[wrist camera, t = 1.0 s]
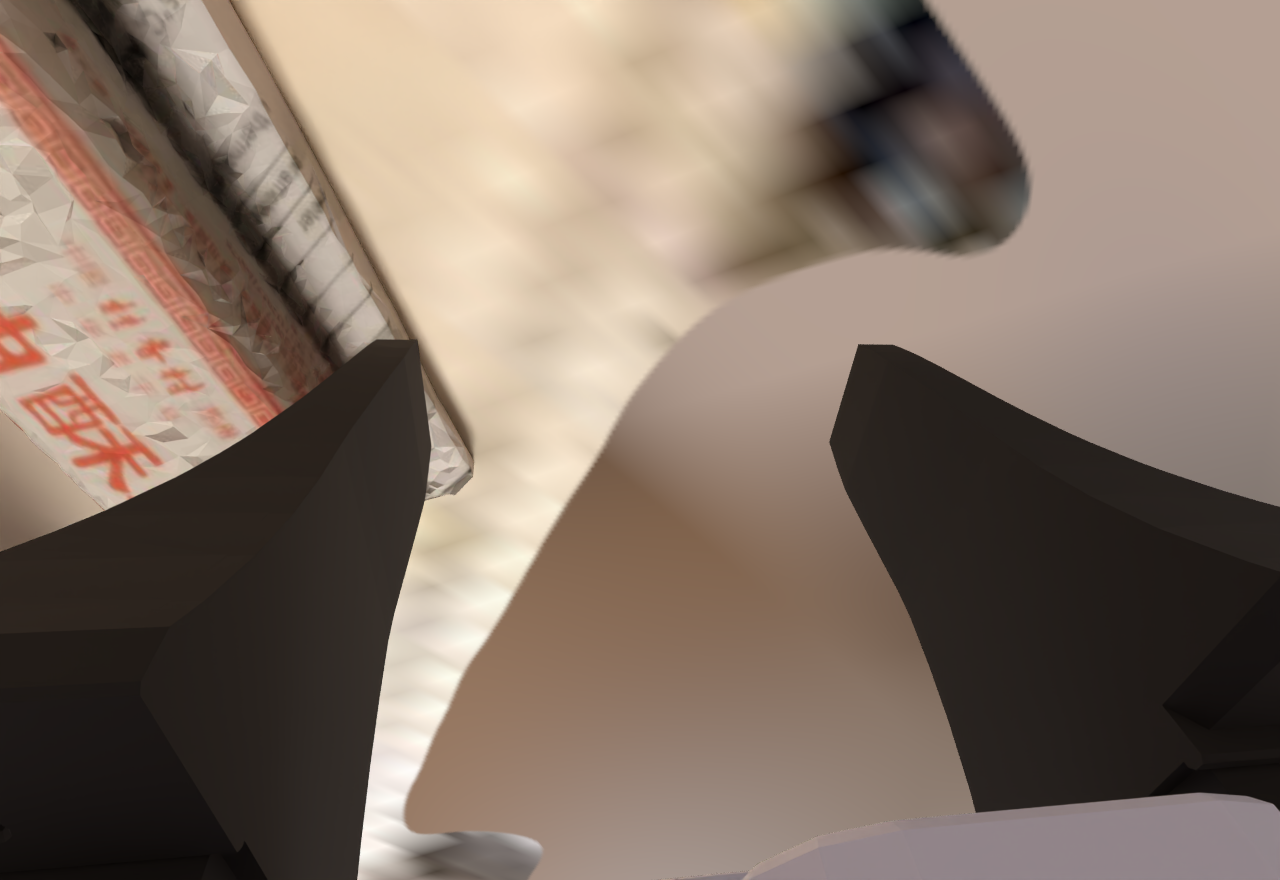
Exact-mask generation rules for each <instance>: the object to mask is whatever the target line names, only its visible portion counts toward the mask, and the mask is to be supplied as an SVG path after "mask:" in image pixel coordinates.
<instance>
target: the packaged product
mask: <svg viewBox="0 0 1280 880" xmlns="http://www.w3.org/2000/svg"><path fill="white" fill-rule="evenodd" d="M376 339H394V340H410V339H409V337H408V335H407V333H406V331H405V329H404V327H403V324H402V322H401V320H400V318H399V316H398V314H397V312H396V310H395V308H394V306H393V304H392V302H391V300H390V299H389V297H388V296H387V294H386V292H385V290H384V288H383V286H382V284H381V282H380V281H379V279H378V277H377V275H376V273H375V271H374V269H373V267H372V265H371V263H370V261H369V259H368V257H367V256H366V254H365V252H364V250H363V248H362V246H361V244H360V242H359V240H358V238H357V236H356V234H355V233H354V231H353V229H352V227H351V225H350V223H349V221H348V219H347V217H346V215H345V213H344V211H343V209H342V207H341V205H340V203H339V201H338V199H337V197H336V195H335V193H334V191H333V189H332V187H331V185H330V184H329V182H328V180H327V178H326V176H325V174H324V172H323V170H322V169H321V167H320V165H319V163H318V161H317V159H316V157H315V156H314V154H313V152H312V150H311V148H310V146H309V144H308V143H307V141H306V139H305V137H304V135H303V133H302V131H301V129H300V128H299V126H298V124H297V122H296V120H295V118H294V116H293V115H292V113H291V111H290V109H289V108H288V106H287V104H286V102H285V101H284V99H283V97H282V95H281V93H280V91H279V89H278V87H277V85H276V83H275V82H274V80H273V78H272V76H271V74H270V72H269V70H268V68H267V66H266V65H265V63H264V61H263V59H262V58H261V56H260V54H259V52H258V51H257V49H256V47H255V45H254V44H253V42H252V40H251V38H250V37H249V35H248V33H247V31H246V30H245V28H244V26H243V24H242V23H241V21H240V19H239V17H238V16H237V14H236V12H235V10H234V9H233V7H232V5H231V3H230V2H229V0H0V410H1V411H2V412H3V413H4V414H5V415H6V416H8V417H9V418H10V419H11V420H12V421H13V422H14V423H15V424H16V425H17V426H18V427H19V428H20V429H21V430H22V431H24V432H25V434H26V435H27V436H28V438H29V439H30V440H31V441H32V442H33V443H34V444H35V445H36V446H37V447H38V448H39V449H40V450H41V451H42V452H44V453H45V454H46V455H47V456H48V457H49V458H51V459H52V460H53V461H54V462H56V463H57V464H58V465H59V467H60V468H61V470H62V471H63V472H64V473H65V474H67V475H68V476H69V477H70V478H71V479H72V480H73V481H74V482H75V483H76V484H77V485H78V486H79V488H80V489H81V490H83V491H84V492H85V493H86V494H87V495H89V496H90V497H91V498H92V499H93V500H94V501H95V502H96V503H97V504H98V505H99V506H100V507H101V508H102V509H103V510H104V511H105V510H107V509H109V508H112V507H114V506H116V505H118V504H120V503H122V502H124V501H126V500H128V499H131V498H133V497H135V496H137V495H139V494H141V493H143V492H145V491H147V490H150V489H152V488H154V487H156V486H158V485H160V484H162V483H164V482H167V481H169V480H171V479H173V478H175V477H177V476H179V475H181V474H183V473H184V472H186V471H188V470H190V469H192V468H194V467H195V466H197V465H199V464H201V463H203V462H204V461H206V460H208V459H210V458H211V457H213V456H215V455H217V454H219V453H220V452H222V451H224V450H225V449H227V448H229V447H230V446H232V445H234V444H235V443H237V442H239V441H240V440H242V439H243V438H245V437H246V436H248V435H250V434H251V433H253V432H254V431H255V430H257V429H258V428H260V427H261V426H263V425H264V424H265V423H267V422H268V421H270V420H271V419H273V418H274V417H275V416H277V415H278V414H280V413H281V412H283V411H284V410H285V409H287V408H288V407H290V406H291V405H293V404H294V403H295V402H297V401H298V400H300V399H301V398H302V397H304V396H305V395H306V394H307V393H309V392H310V391H311V390H313V389H314V388H315V387H316V386H318V385H319V384H320V383H321V382H323V381H324V380H325V379H327V378H328V377H329V376H330V375H332V374H333V373H334V372H335V371H337V370H338V369H339V368H340V367H342V366H343V365H344V364H345V363H346V362H348V361H349V360H350V359H351V358H353V357H354V356H355V355H356V354H358V353H359V352H360V351H361V350H363V349H364V348H365V347H366V346H368V345H369V344H370V343H372V342H373V341H375V340H376ZM420 363H421V362H420ZM421 371H422V378H423V386H424V393H425V401H426V408H427V416H428V423H429V431H430V438H431V455H430V464H429V473H428V481H427V489H426V496H425V500H428V499H432V498H436V497H440V496H443V495H448V494H453V495H455V494H456V493H457V492H458V491H459V490H460V489H461V488H462V487H463V486H464V485H465V484H466V483H467V482H468V481H469V480H470V479H471V478H472V477H473V470H474V462H473V459H472V457H471V455H470V453H469V452H468V450H467V448H466V446H465V444H464V443H463V441H462V439H461V437H460V435H459V434H458V432H457V430H456V428H455V426H454V425H453V423H452V421H451V419H450V417H449V416H448V414H447V412H446V410H445V408H444V407H443V405H442V403H441V402H440V400H439V399H438V397H437V395H436V393H435V391H434V389H433V387H432V385H431V383H430V381H429V379H428V377H427V374H426V372H425V370H424V368H423V366H422V364H421Z"/></svg>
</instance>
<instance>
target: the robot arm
mask: <svg viewBox="0 0 1280 880" xmlns="http://www.w3.org/2000/svg"><path fill="white" fill-rule="evenodd" d="M830 446H831V449H832V452H833V455H834V458H835V461H836V465H837V468H838V471H839V474H840V476H841V479H842V482H843V485H844V488H845V490H846V492H847V494H848V496H849V498H850V500H851V502H852V504H853V506H854V508H855V510H856V512H857V514H858V516H859V518H860V520H861V522H862V524H863V526H864V527H865V530H866V531H867V533H868V535H869V537H870V539H871V541H872V543H873V544H874V547H875V548H876V550H877V552H878V554H879V556H880V558H881V560H882V562H883V564H884V565H885V567H886V569H887V571H888V573H889V575H890V577H891V579H892V580H893V582H894V584H895V586H896V588H897V590H898V592H899V594H900V596H901V598H902V600H903V602H904V605H905V607H906V609H907V611H908V613H909V615H910V618H911V620H912V623H913V625H914V628H915V631H916V633H917V636H918V638H919V640H920V643H921V646H922V649H923V651H924V654H925V656H926V659H927V662H928V664H929V667H930V670H931V672H932V674H933V678H934V681H935V684H936V687H937V690H938V692H939V695H940V698H941V701H942V704H943V707H944V710H945V712H946V715H947V718H948V721H949V724H950V727H951V730H952V734H953V737H954V740H955V743H956V747H957V750H958V753H959V756H960V759H961V762H962V766H963V769H964V772H965V776H966V779H967V782H968V785H969V789H970V792H971V796H972V800H973V804H974V807H975V811H976V813H969V814H959V815H948V816H936V817H925V818H915V819H903V820H892V821H887V822H882V823H877V824H873V825H868V826H863V827H858V828H853V829H849V830H843V831H839V832H834V833H829V834H824V835H820V836H816V837H814V838H812V839H810V840H807V841H805V842H803V843H801V844H799V845H797V846H795V847H793V848H790V849H788V850H786V851H784V852H782V853H779V854H778V855H775V856H773V857H771V858H769V859H766V860H764V861H762V862H760V863H758V864H757V865H755V867H754V868H753V869H752V870H751V871H741V872H731V873H720V874H711V875H700V876H691V877H680V878H670V879H660V880H1280V507H1278V506H1274V505H1270V504H1267V503H1263V502H1259V501H1256V500H1253V499H1249V498H1246V497H1242V496H1239V495H1236V494H1232V493H1228V492H1225V491H1222V490H1219V489H1216V488H1213V487H1210V486H1207V485H1203V484H1201V483H1198V482H1195V481H1192V480H1189V479H1185V478H1183V477H1179V476H1177V475H1174V474H1171V473H1168V472H1165V471H1162V470H1159V469H1156V468H1154V467H1151V466H1148V465H1145V464H1143V463H1140V462H1137V461H1134V460H1132V459H1130V458H1127V457H1125V456H1122V455H1119V454H1118V453H1115V452H1112V451H1110V450H1107V449H1105V448H1102V447H1100V446H1097V445H1095V444H1093V443H1090V442H1088V441H1086V440H1083V439H1081V438H1079V437H1077V436H1074V435H1072V434H1070V433H1068V432H1066V431H1063V430H1062V429H1059V428H1057V427H1055V426H1053V425H1051V424H1049V423H1047V422H1045V421H1043V420H1041V419H1039V418H1037V417H1035V416H1032V415H1030V414H1028V413H1026V412H1024V411H1023V410H1021V409H1018V408H1017V407H1015V406H1013V405H1011V404H1009V403H1007V402H1005V401H1003V400H1001V399H999V398H997V397H995V396H994V395H992V394H990V393H988V392H986V391H984V390H982V389H981V388H979V387H977V386H975V385H973V384H971V383H970V382H968V381H966V380H964V379H962V378H960V377H958V376H956V375H955V374H953V373H951V372H949V371H947V370H945V369H944V368H942V367H940V366H938V365H936V364H934V363H932V362H930V361H928V360H926V359H924V358H922V357H920V356H918V355H916V354H914V353H912V352H909V351H907V350H905V349H902V348H900V347H897V346H895V345H864V344H863V345H861V344H860V345H859V344H858V348H857V351H856V354H855V358H854V361H853V364H852V368H851V371H850V374H849V378H848V381H847V385H846V388H845V391H844V395H843V398H842V401H841V405H840V408H839V412H838V415H837V418H836V421H835V425H834V428H833V431H832V435H831V438H830ZM430 455H431V438H430V431H429V423H428V416H427V408H426V401H425V393H424V386H423V378H422V371H421V363H420V356H419V348H418V341H417V340H394V339H376V340H375V341H373V342H372V343H370V344H369V345H368V346H366V347H365V348H364V349H363V350H361V351H360V352H359V353H358V354H356V355H355V356H354V357H353V358H351V359H350V360H349V361H348V362H346V363H345V364H344V365H343V366H342V367H340V368H339V369H338V370H337V371H335V372H334V373H333V374H332V375H330V376H329V377H328V378H327V379H325V380H324V381H323V382H321V383H320V384H319V385H318V386H316V387H315V388H314V389H313V390H311V391H310V392H309V393H307V394H306V395H305V396H304V397H302V398H301V399H300V400H298V401H297V402H295V403H294V404H293V405H291V406H290V407H288V408H287V409H285V410H284V411H283V412H281V413H280V414H278V415H277V416H275V417H274V418H273V419H271V420H270V421H268V422H267V423H265V424H264V425H263V426H261V427H260V428H258V429H257V430H255V431H254V432H253V433H251V434H250V435H248V436H246V437H245V438H243V439H242V440H240V441H239V442H237V443H235V444H234V445H232V446H230V447H229V448H227V449H225V450H224V451H222V452H220V453H219V454H217V455H215V456H213V457H211V458H210V459H208V460H206V461H204V462H203V463H201V464H199V465H197V466H195V467H194V468H192V469H190V470H188V471H186V472H184V473H183V474H181V475H179V476H177V477H175V478H173V479H171V480H169V481H167V482H164V483H162V484H160V485H158V486H156V487H154V488H152V489H150V490H147V491H145V492H143V493H141V494H139V495H137V496H135V497H133V498H131V499H128V500H126V501H124V502H122V503H120V504H118V505H116V506H114V507H112V508H109V509H107V510H105V511H103V512H101V513H98V514H96V515H94V516H91V517H89V518H86V519H84V520H81V521H79V522H77V523H74V524H72V525H69V526H67V527H64V528H62V529H59V530H57V531H54V532H52V533H49V534H47V535H44V536H41V537H39V538H36V539H33V540H31V541H28V542H25V543H23V544H20V545H18V546H15V547H12V548H10V549H7V550H4V551H1V552H0V880H357V876H358V866H359V856H360V846H361V837H362V829H363V821H364V812H365V804H366V796H367V788H368V779H369V771H370V763H371V755H372V748H373V741H374V734H375V726H376V719H377V712H378V705H379V697H380V691H381V684H382V678H383V671H384V665H385V658H386V652H387V645H388V639H389V635H390V630H391V626H392V621H393V617H394V612H395V609H396V605H397V601H398V598H399V594H400V590H401V587H402V583H403V579H404V576H405V572H406V568H407V565H408V561H409V557H410V554H411V550H412V546H413V543H414V539H415V535H416V531H417V528H418V524H419V520H420V516H421V513H422V509H423V505H424V501H425V496H426V489H427V481H428V473H429V464H430Z"/></svg>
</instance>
